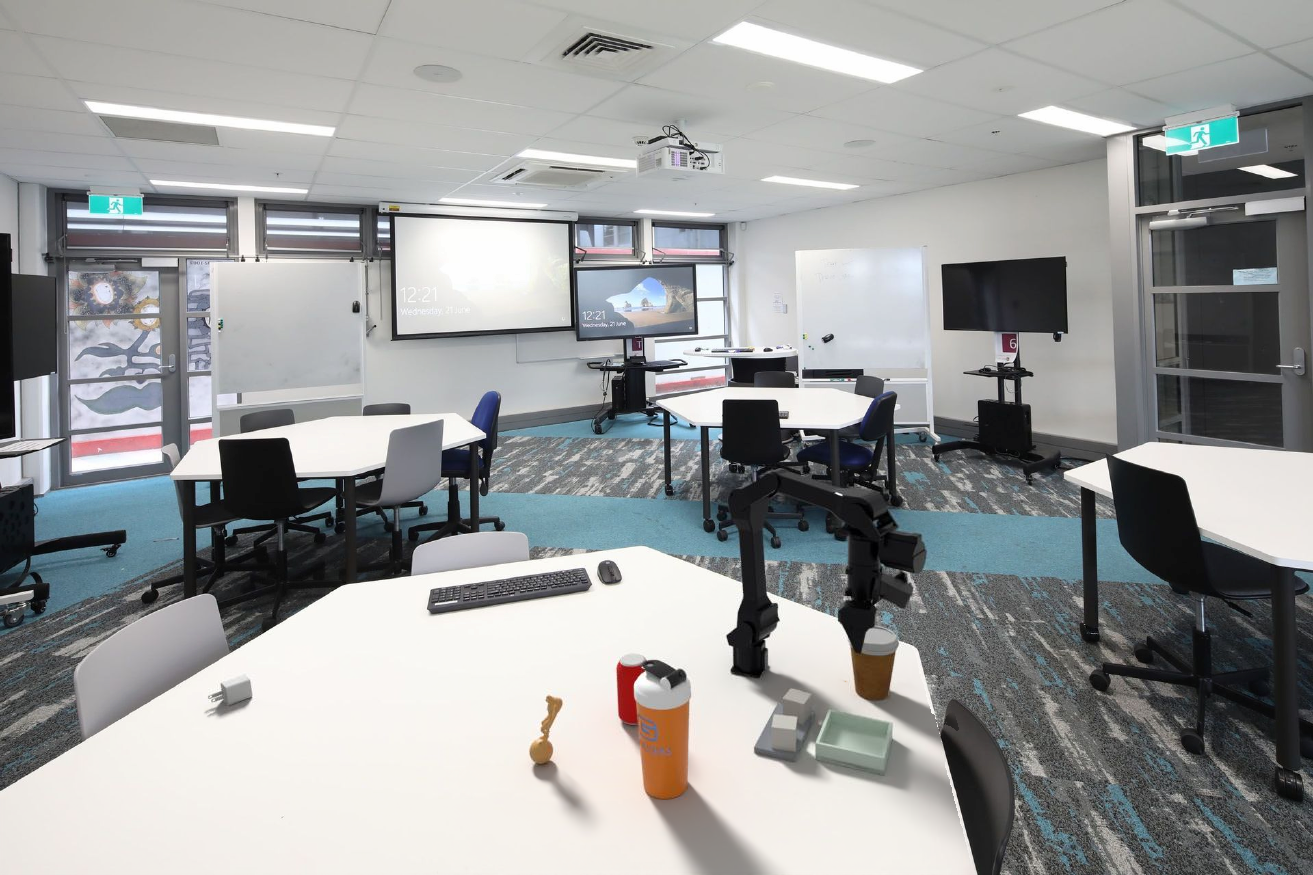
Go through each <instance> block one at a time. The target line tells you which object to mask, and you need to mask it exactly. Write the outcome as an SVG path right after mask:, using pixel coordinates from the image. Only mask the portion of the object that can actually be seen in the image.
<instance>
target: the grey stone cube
mask: <svg viewBox="0 0 1313 875" xmlns="http://www.w3.org/2000/svg"><path fill="white" fill-rule="evenodd" d="M812 700H813V694H812V693H811V692H806V691H803V690H799V689H796V688H789V690H788V691H787V693H786V694H785V695H784V696H783V697H782V704H783V715H785V716H794V717H797V723H800V724H803V725H804V724H805V722H806V721H807V720H808V718H809V717H810V716H811V714H812V710H813V709H812V708H813V707H812V706H813V702H812Z"/></svg>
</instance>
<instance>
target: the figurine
mask: <svg viewBox="0 0 1313 875" xmlns="http://www.w3.org/2000/svg"><path fill="white" fill-rule="evenodd" d="M545 698H546V699H545V702H546V703H547V708H546V711H547V713H548V714H547V716H545V717H544V718H543V719H542V721H541V723H540V724H541V727H540V732H541V733H542V734H543V735H542V736H540V737H539V738H537V739H535V740H534V741H533V742H532V743H531V745H530V746H529V750H528V751H529V754H528V755H529V757H530V759H531V760H532V762H533V763H535V764H540V765H541V764H546V763H547V762H549V761H550V759H551V758H552V756H553V753H554V746H553V743H552V742H551V741H550V740H549V737H550V730H551V728H552V726H553V724H554V721H555V720H556V717H557V715H558V714H559V713H560V710H561V709H562V707H563V704H564V703H563V699H562V698H561V697H558V696H553V695H550V694H549V695H548V694H547V695H546V697H545Z"/></svg>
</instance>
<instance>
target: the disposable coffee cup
mask: <svg viewBox="0 0 1313 875" xmlns="http://www.w3.org/2000/svg"><path fill="white" fill-rule="evenodd" d="M847 642H848V645H849V646H850V648H849V649H850V655H851V664H852V672H853V680H854V682H853V683H854V690H855V693H856V694H857V695H858V696H860V697H861V698H863V699H866V700H871V701H881V700H885V699H886V698H888V697H889V695H890V690H891V682H892V677H893V670H894V664H895V658H896V653H897V649H898V648H899V644H900V641H899V640H898V638H897V635H896V633H895V632H894V631H892V630H891V629H889V628H887V627H883V626H880V625H875V626H874V627H873V628H871V629H869V630H868V631H867V632H866V636H865V640H864V644H863V648H862V652H861V653H855V652H854V649H853V647H852V645H851V643H850V640H849V638H848V637H847Z"/></svg>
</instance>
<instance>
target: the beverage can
mask: <svg viewBox="0 0 1313 875" xmlns="http://www.w3.org/2000/svg"><path fill="white" fill-rule="evenodd" d="M645 661H647V659H646V657H645V656H644V655H643V654H640V653H628V654H624V655H623V656H622V657H621V658H620V659H619V660H618V663H617V664H616V667H615V668H616V670H615V672H616V689H617V694H616V695H617V714H618V715H617V716H618V717H619V719H620V721H622V722H623V723H624V724H627V725H631V726H632V725H633V726H638V717H637V706H636V700H635V698H634V683H635V682H636V680H637V679H638V677H639V676H640V675H641V674H642V673H644V672H645V670H643V669H642V663H643V662H645Z"/></svg>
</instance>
